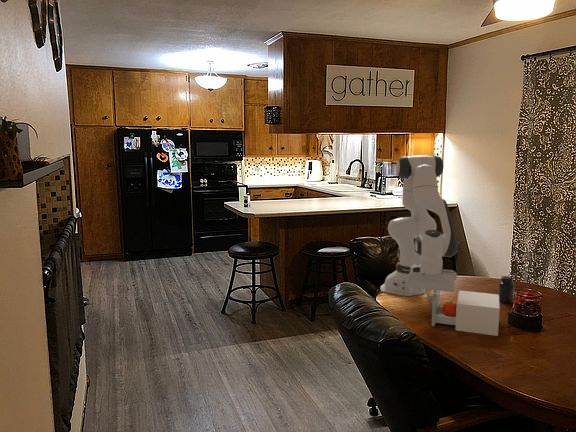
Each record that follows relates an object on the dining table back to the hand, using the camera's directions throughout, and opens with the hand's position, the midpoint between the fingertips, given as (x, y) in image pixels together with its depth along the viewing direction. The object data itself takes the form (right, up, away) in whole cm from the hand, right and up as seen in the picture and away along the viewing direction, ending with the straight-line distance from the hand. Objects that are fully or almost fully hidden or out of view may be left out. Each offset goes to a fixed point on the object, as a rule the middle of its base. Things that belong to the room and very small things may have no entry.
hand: (430, 298), depth 205 cm
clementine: (+8, -8, -2) cm, 11 cm away
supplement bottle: (+43, -5, +22) cm, 49 cm away
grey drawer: (+8, -9, -2) cm, 12 cm away
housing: (+18, -10, -6) cm, 21 cm away
